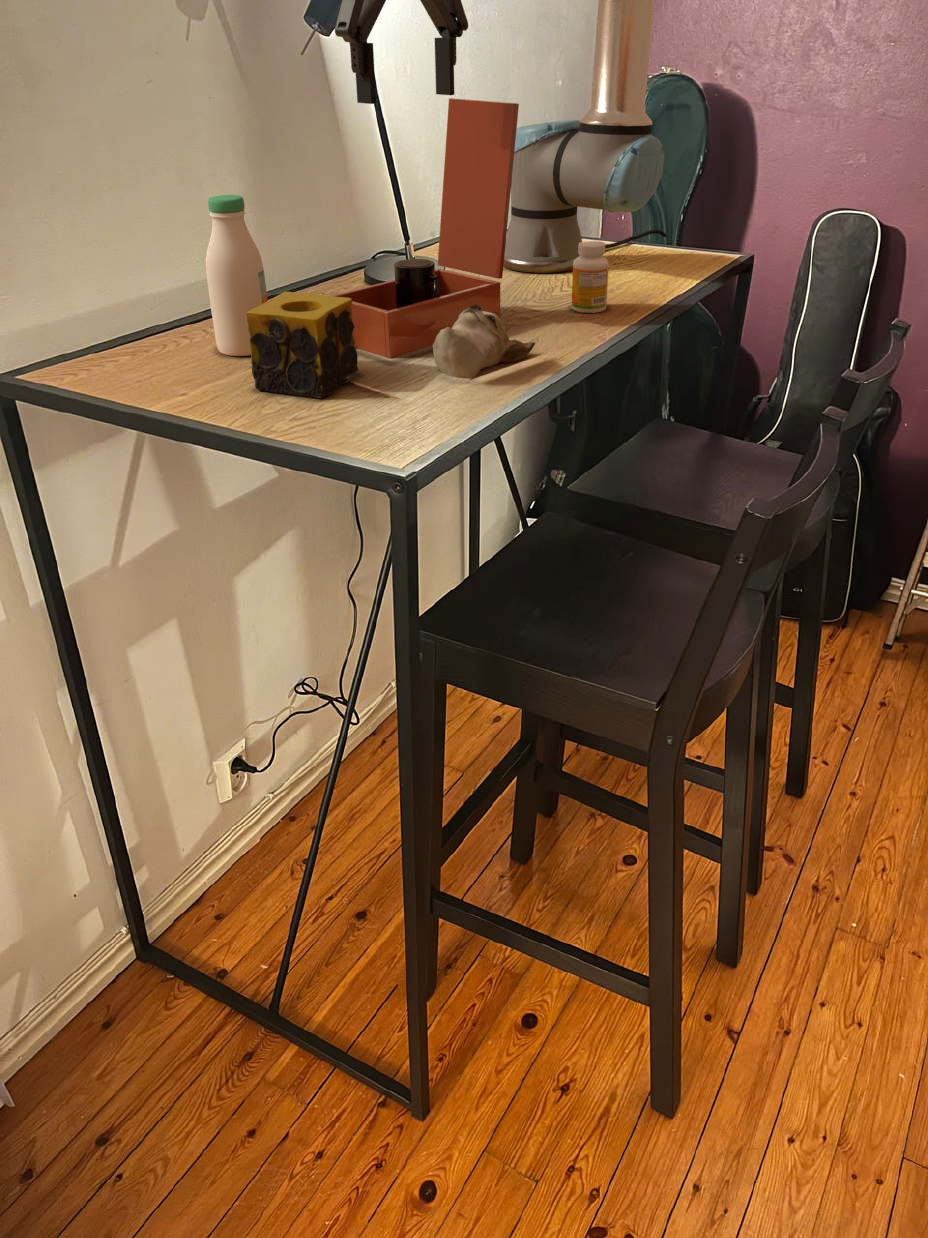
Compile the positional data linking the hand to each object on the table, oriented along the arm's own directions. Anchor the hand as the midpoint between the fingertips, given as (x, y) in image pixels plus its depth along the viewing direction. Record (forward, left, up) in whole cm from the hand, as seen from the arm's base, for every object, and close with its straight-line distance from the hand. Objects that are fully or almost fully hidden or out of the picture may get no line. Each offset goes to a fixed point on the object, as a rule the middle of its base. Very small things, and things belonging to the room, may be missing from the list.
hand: (407, 98), depth 130 cm
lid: (-12, 0, -12) cm, 17 cm away
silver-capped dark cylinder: (0, 0, -30) cm, 30 cm away
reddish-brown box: (0, 0, -31) cm, 31 cm away
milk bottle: (+20, -14, -31) cm, 39 cm away
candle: (+23, +4, -31) cm, 39 cm away
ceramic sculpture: (+5, +17, -31) cm, 35 cm away
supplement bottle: (-28, +9, -31) cm, 43 cm away
